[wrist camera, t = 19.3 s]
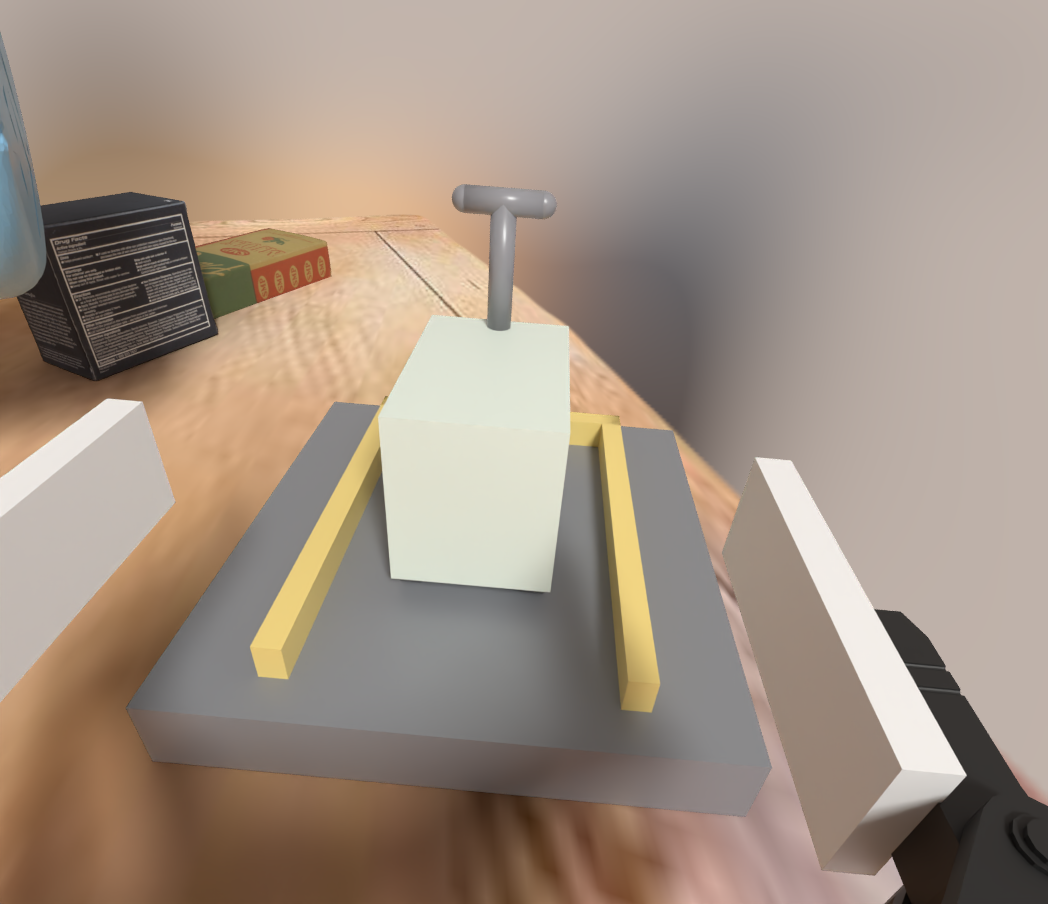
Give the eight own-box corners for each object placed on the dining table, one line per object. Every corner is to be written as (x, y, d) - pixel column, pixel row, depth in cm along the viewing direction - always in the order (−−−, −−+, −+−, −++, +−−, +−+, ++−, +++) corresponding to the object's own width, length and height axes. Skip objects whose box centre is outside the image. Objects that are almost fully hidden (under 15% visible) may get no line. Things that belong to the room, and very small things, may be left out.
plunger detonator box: (392, 597, 23) (363, 233, 15) (435, 465, 30) (429, 178, 23) (547, 610, 23) (593, 252, 15) (552, 475, 30) (583, 190, 23)
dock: (152, 761, 20) (110, 677, 18) (340, 444, 37) (331, 379, 34) (745, 816, 20) (786, 739, 17) (662, 472, 37) (678, 408, 34)
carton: (333, 280, 64) (329, 239, 62) (208, 326, 52) (197, 277, 49) (274, 265, 67) (268, 225, 64) (142, 305, 54) (128, 258, 52)
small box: (167, 318, 52) (131, 188, 46) (221, 335, 49) (191, 200, 44) (37, 361, 44) (-26, 209, 38) (95, 383, 41) (37, 226, 36)
